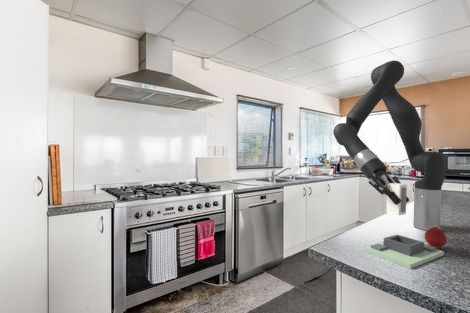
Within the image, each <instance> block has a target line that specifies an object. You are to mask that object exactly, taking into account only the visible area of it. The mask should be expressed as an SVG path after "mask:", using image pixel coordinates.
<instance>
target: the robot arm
mask: <svg viewBox="0 0 470 313" xmlns="http://www.w3.org/2000/svg"><path fill="white" fill-rule="evenodd" d="M404 75H405V67H404V65H403V63H402V62H400V61H399V60H390V61H387V62H385V63H383V64H380V65H378V66H376V67H374V68H373V70H372V71H371V73H370V80H371V82H372V83H371V84H372V85H373V86H372V87H371V88H369V90H368V91H367V92H366V93H364V95H363V96H362V97H360V98H359V100H357V102H355V104H354V105H353V106H352V108H351V109H350V110H349V112H348V113H347V115H346V117H345V118H346V120H345V122H342V123H338V124H336V125H335V126H334V128H333V131H332V132H333V136H334V138H335V140H336V143H337V144H338V145H340V146H342V147H344V149H345V151H346V153H347V154H348V156H349V157H350V158H351V160H353V162H354V163H355V165H356V166H357V168H358V169H359V170H360V171H361V173H363V175H364V176H365V178H366V179H368V180H369V181H368V184H369V185H370V186H371V187H373V189H375V190H376V191H377V192H378V193H379V194H380V195H385V196H386V197H387V196H388V197H389V198H390V199H391V200H392V201H393V203H394V204H395V205H397V204H399V203H400V202H401V199H400V198H399V197H398V196H397V195H396V194H395V193H394V192H393V190H392V189H391V188H390V183H400V184H402V182H401V181H400V180H399V178H398V177H397V176H396V175H394V176H393V177H392V176H391V175H390V174H389V173H388V172H387V170H388V167H387V165H386V164H385V163H384V162H383V161H382V160H381V159H380V158H379V157H378V155H377V154H375V152H374V151H372V150H371V149H370V148H369V146H367V145H366V144H365V143H364V142H363V140H361V138H360V137H359V135H358V134H359V133H360V130H361V128H362V125H363V124H364V122H365V121H366V120H367V119H368V117H369V115H370V114H371V113H372V111H373V110H374V109H375V107H376V106H377V105H378V104H379V103H380V102H381V101H382V102H383V103H384V105H385V107H386V109H387V111H388V113H389V116H390V119H392V123H393V125H394V127H395V129H396V131H397V132H398V135H399V137H400V140H401V142H402V143H403V146H404V149H405V152H406V156H407V159H408V162H409V164H410V166H411V168H412V169H413V170H414V171H415V172H419V173H423V177H422V178H421V179H418V180H415V182H414V185H413V186H414V188H413V189H414V190H413V191H414V193H413V196H414V197H413V227H414V228H416V229H419V230H423V231H427V230H429V229H431V228H433V227H434V225H437V227H438V228H439V229H440V230H441V218H442V215H441V214H442V188H443V184H444V181H445V176H446V175H445V174H446V159H445V156H444V154H442V153H441V152H438V151H425V149H424V148H423V145H422V143H421V139H420V138H421V137H420V136H421V133H422V132H421V131H422V125H423V124H422V119H421V117H420V114H419V112H418V110H417V109H416V107H415V106H414V105H413V104H412V103H411V102H410V101H409V100H407V99H406V98H405V97H404V96H402V95H401V94H400V93H399V91H398V90H397V88H396V85H397V84H398V82H400V80H402V78H403V76H404ZM409 202H410V198H409V197H408V196H407V195H406V204H407V203H409Z"/></svg>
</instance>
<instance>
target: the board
mask: <svg viewBox="0 0 470 313" xmlns="http://www.w3.org/2000/svg"><path fill="white" fill-rule="evenodd" d="M363 252H366V253H367V254H371V255H372V256H376V257H379V258H381V259H384V260H387V261H389V262H392V263H393V264H397V265H399V266H402V267H404V268H407V269H409V270H410V269H414V268H416V267H419V266H420V265H423V264H426V263H428V262H431V261H433V260H436V259H438V258H441V257H443V256H445V251H443V250H440V249H438V248H437V249H436V247H433V246H430V245H429V244H425V242H424V241H422V240H417V239H414V238H410V237H407V236H404V235H401V234H394V235H390V236H387V237H384V238H383V241H380V242H377V243H374V244H370V245H367V246H364V247H363Z"/></svg>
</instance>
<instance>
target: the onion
mask: <svg viewBox="0 0 470 313" xmlns="http://www.w3.org/2000/svg"><path fill="white" fill-rule="evenodd" d="M424 239H425V241H426V243H427V245H429V246H433V247H436V249H437V250H438V249H439V248H442V247H444V246H445V245H446V243H447V242H448V238H447V236H446V234H445V232H444V231H443V230H442V229H441V228H440V229H439V228H438V227H437V225H434V227H433V228H431V229H429V230H425V233H424Z"/></svg>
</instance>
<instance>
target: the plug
mask: <svg viewBox="0 0 470 313" xmlns="http://www.w3.org/2000/svg"><path fill="white" fill-rule="evenodd" d="M400 183H401V182H400ZM400 183H390V188H391V189H392V190H393V192H394V193H395V194H396V195H397V196H398V197H399V198H400V199H401V202H400V203H399V204H397V205H395V204H394V203H393V201H392V200H391V199H390V198H389V197H388V196H386V213H387V214H390V215H391V214H392V215H396V216H402V215H406V214H407V213H406V212H407V203H406V196H407V191H408V190H407V189H408V186H407V185H408V184H407V183H401V184H400Z"/></svg>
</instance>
